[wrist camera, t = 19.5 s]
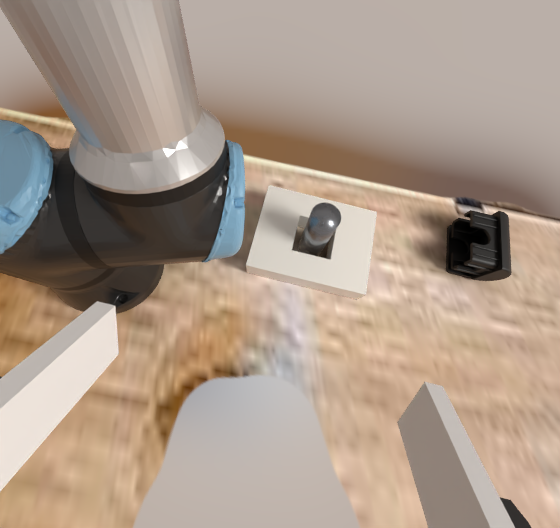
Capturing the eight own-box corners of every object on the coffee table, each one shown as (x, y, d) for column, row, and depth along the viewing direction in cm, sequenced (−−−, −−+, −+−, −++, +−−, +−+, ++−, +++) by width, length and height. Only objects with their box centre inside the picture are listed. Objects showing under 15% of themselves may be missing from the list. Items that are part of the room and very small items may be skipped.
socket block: (246, 272, 43) (245, 265, 40) (267, 198, 48) (268, 184, 44) (356, 299, 44) (365, 294, 40) (367, 222, 48) (376, 211, 44)
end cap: (485, 284, 46) (522, 274, 40) (445, 275, 46) (476, 262, 40) (484, 232, 49) (518, 214, 43) (446, 223, 49) (475, 204, 43)
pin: (296, 255, 45) (308, 226, 35) (301, 233, 46) (313, 199, 36) (319, 260, 45) (338, 233, 35) (323, 239, 46) (343, 206, 36)
